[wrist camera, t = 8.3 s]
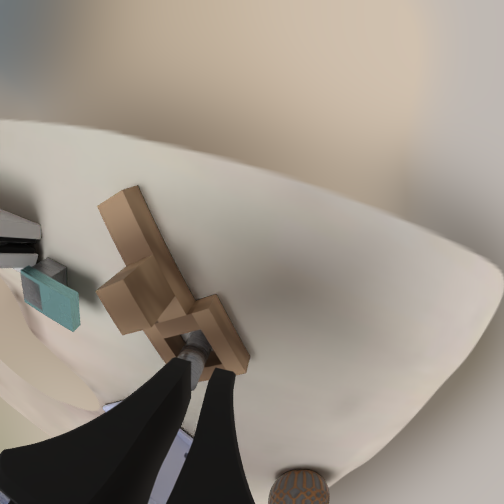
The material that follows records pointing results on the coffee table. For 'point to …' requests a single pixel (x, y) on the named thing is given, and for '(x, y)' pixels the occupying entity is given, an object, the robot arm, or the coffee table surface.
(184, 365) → the robot arm
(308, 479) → the vase
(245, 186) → the coffee table surface
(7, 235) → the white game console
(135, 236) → the link
